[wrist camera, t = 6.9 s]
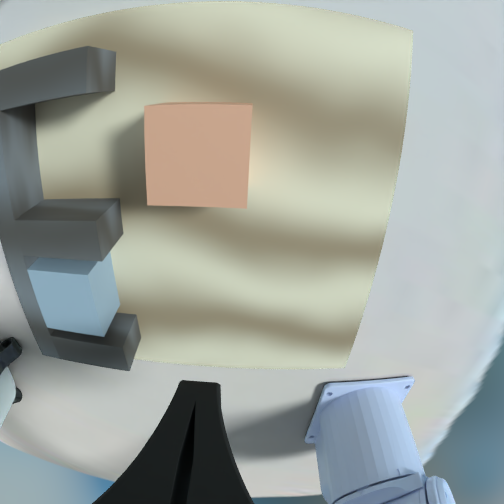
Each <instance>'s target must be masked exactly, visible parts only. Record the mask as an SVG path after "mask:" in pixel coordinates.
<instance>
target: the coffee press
mask: <svg viewBox="0 0 504 504" xmlns="http://www.w3.org/2000/svg"><path fill="white" fill-rule="evenodd" d="M21 353H22V349H21V348H20V346H19V345H18V343H17V342H16V340H15V339H14V338H13V337H11V338H9V339H7V340H5V341H4V342H3V343H1V344H0V428H1V426H2V424H3V422H4V420H5V418H6V416H7V413H8V411H9V409H10V407H11V405H12V404H14V403H17V402H20V401H21V399H22V393H21V391H20V390H19V389H18V388H15V383H14V380H13V377H12V375H11V372H10V370H9V369H8V367H7V366H8V365H9V364H10V363H11V362H13V361H14V360H15V359H16V358H18V357H19V356H20V354H21Z"/></svg>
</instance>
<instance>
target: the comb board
mask: <svg viewBox="0 0 504 504" xmlns="http://www.w3.org/2000/svg"><path fill="white" fill-rule="evenodd" d="M412 46H413V31H412V30H409V29H406V28H403V27H399V26H396V25H392V24H389V23H385V22H381V21H377V20H373V19H369V18H365V17H361V16H356V15H352V14H347V13H342V12H336V11H331V10H325V9H319V8H312V7H304V6H296V5H287V4H277V3H263V2H241V1H206V2H184V3H171V4H160V5H151V6H143V7H136V8H129V9H123V10H117V11H112V12H107V13H102V14H97V15H92V16H88V17H84V18H80V19H76V20H72V21H68V22H64V23H61V24H57V25H54V26H51V27H47V28H44V29H41V30H38V31H35V32H32V33H29V34H26V35H24V36H21V37H18V38H15V39H13V40H10V41H8V42H5V43H3V44H0V240H1V243H2V247H3V251H4V254H5V258H6V261H7V264H8V268H9V271H10V274H11V277H12V280H13V283H14V286H15V289H16V292H17V294H18V297H19V300H20V303H21V305H22V308H23V310H24V313H25V315H26V318H27V320H28V323H29V325H30V328H31V330H32V332H33V335H34V337H35V339H36V341H37V344H38V346H39V348H40V350H41V352H42V354H43V355H46V356H50V357H55V358H59V359H64V360H69V361H74V362H79V363H84V364H89V365H95V366H100V367H106V368H112V369H119V370H125V371H130V368H131V365H132V362H133V359H137V360H145V361H154V362H163V363H173V364H184V365H196V366H209V367H226V368H249V369H334V368H345V366H346V363H347V360H348V358H349V355H350V352H351V349H352V346H353V343H354V340H355V338H356V335H357V332H358V329H359V325H360V322H361V319H362V316H363V313H364V310H365V307H366V303H367V300H368V297H369V293H370V290H371V286H372V283H373V279H374V276H375V272H376V268H377V265H378V261H379V257H380V253H381V249H382V245H383V241H384V237H385V233H386V228H387V224H388V220H389V215H390V211H391V206H392V201H393V196H394V191H395V186H396V181H397V175H398V170H399V164H400V158H401V152H402V145H403V138H404V131H405V124H406V116H407V108H408V98H409V88H410V77H411V63H412ZM168 102H235V103H252V105H253V107H252V124H251V142H250V160H249V179H248V197H247V209H243V208H220V207H192V206H153V205H147V190H146V170H145V137H144V106H146V105H152V104H159V103H168ZM109 252H110V253H111V259H112V265H113V270H114V276H115V281H116V286H117V291H118V296H119V301H120V306H119V308H118V310H117V312H116V314H115V316H114V318H113V320H112V322H111V324H110V326H109V328H108V330H107V332H106V334H105V336H104V337H102V336H95V335H89V334H82V333H76V332H70V331H64V330H58V329H53V328H47V326H46V323H45V321H44V318H43V315H42V313H41V310H40V307H39V304H38V302H37V299H36V296H35V293H34V290H33V287H32V284H31V280H30V277H29V274H28V271H27V269H28V268H29V267H30V266H31V265H32V264H33V263H34V262H35V261H36V260H37V259H38V258H39V257H43V258H57V259H71V260H86V261H101V262H102V261H103V260H104V259H105V257H106V256H107V255H108V253H109Z"/></svg>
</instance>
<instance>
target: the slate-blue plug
mask: <svg viewBox="0 0 504 504" xmlns="http://www.w3.org/2000/svg"><path fill="white" fill-rule="evenodd" d="M27 271H28V274H29V277H30V280H31V284H32V287H33V290H34V293H35V296H36V299H37V302H38V304H39V307H40V310H41V313H42V315H43V318H44V321H45V323H46V326H47V328H53V329H58V330H64V331H70V332H76V333H82V334H89V335H95V336H102V337H104V336H105V334H106V332H107V330H108V328H109V326H110V324H111V322H112V320H113V318H114V316H115V314H116V312H117V310H118V308H119V306H120V301H119V296H118V291H117V286H116V281H115V276H114V270H113V265H112V259H111V253H110V252H109V253H108V255H107V256H106V257H105V259H104V260H103V261H102V262H101V261H86V260H71V259H57V258H43V257H39V258H38V259H37V260H36V261H35V262H34V263H33V264H32V265H31V266H30V267H29V268H28V269H27Z"/></svg>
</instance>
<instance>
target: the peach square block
mask: <svg viewBox="0 0 504 504" xmlns="http://www.w3.org/2000/svg"><path fill="white" fill-rule="evenodd" d="M252 107H253V105H252V103H235V102H168V103H159V104H152V105H146V106H144V137H145V170H146V190H147V205H153V206H192V207H220V208H243V209H247V197H248V179H249V160H250V142H251V124H252Z"/></svg>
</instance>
